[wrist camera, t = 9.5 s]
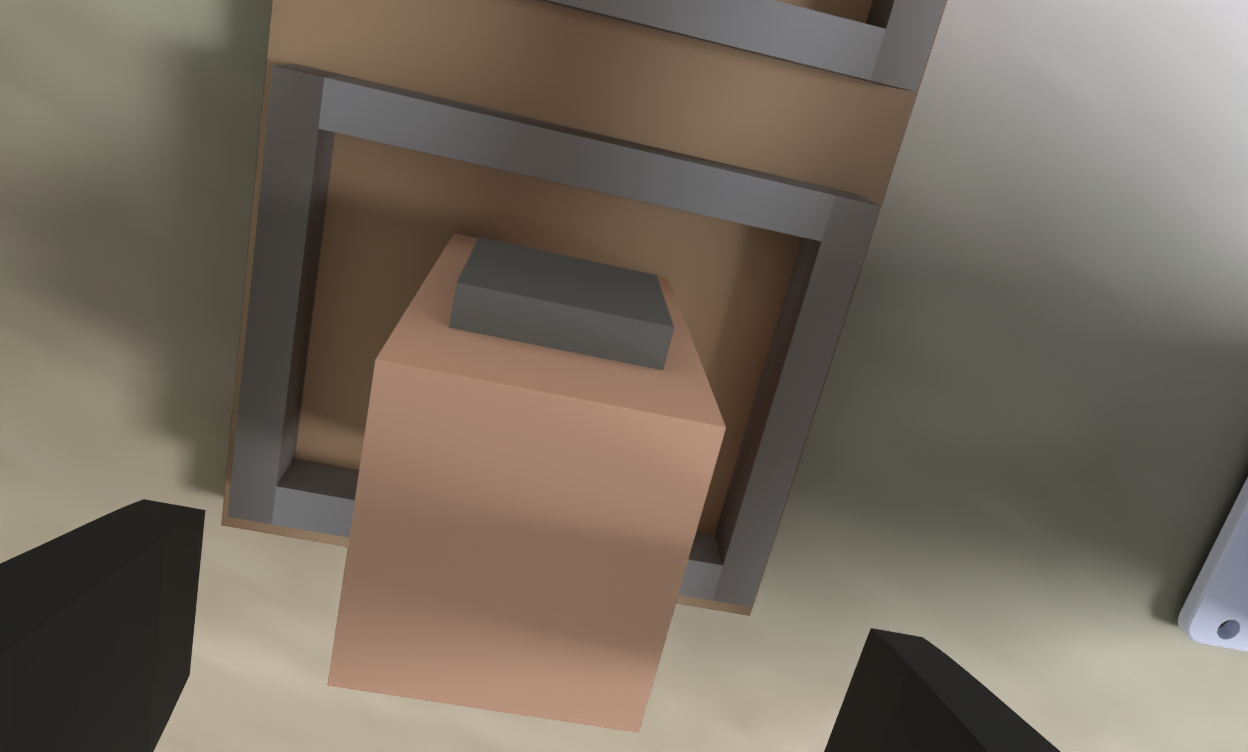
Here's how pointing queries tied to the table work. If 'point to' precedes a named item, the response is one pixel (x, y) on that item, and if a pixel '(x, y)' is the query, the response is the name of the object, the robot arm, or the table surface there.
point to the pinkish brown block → (526, 489)
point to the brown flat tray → (566, 213)
